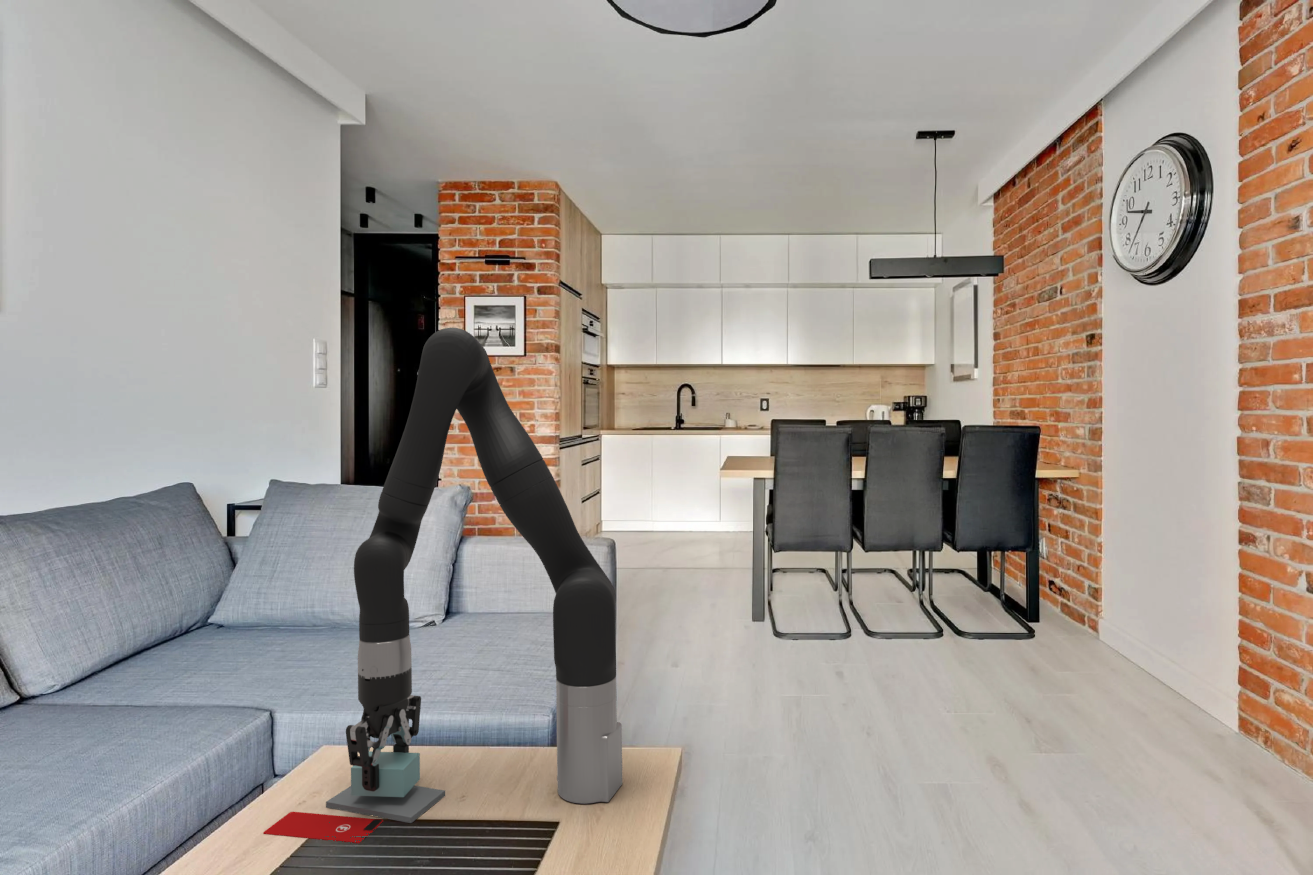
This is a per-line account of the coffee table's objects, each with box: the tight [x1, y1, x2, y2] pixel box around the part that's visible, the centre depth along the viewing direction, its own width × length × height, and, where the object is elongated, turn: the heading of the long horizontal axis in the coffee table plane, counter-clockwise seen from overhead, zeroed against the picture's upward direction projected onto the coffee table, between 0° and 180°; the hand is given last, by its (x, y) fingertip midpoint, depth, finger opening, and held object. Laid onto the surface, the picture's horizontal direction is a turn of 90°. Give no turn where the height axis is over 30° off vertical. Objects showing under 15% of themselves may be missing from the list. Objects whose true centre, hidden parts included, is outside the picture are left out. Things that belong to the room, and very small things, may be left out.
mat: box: [325, 784, 446, 824], centre depth 104 cm, size 15×8×1 cm, turn 72°
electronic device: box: [262, 811, 384, 844], centre depth 98 cm, size 6×1×15 cm
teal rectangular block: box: [350, 750, 421, 797], centre depth 104 cm, size 6×8×4 cm
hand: (386, 778), depth 104 cm, fingers closed on teal rectangular block, 6 cm apart
